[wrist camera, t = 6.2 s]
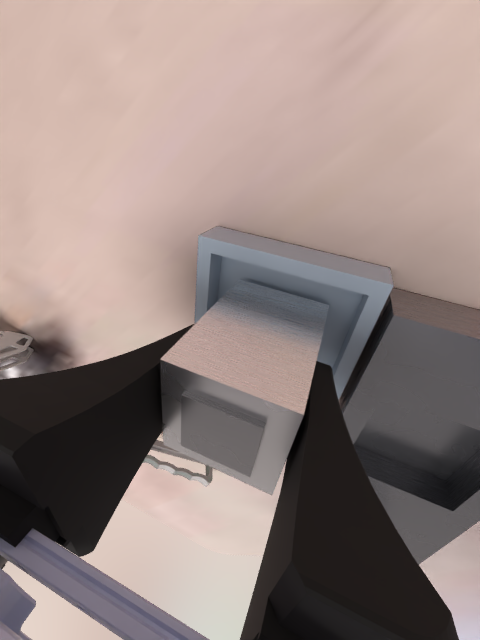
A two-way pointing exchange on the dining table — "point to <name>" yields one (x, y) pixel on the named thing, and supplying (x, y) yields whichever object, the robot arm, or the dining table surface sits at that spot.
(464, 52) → the dining table surface
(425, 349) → the slotted metal plate
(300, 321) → the light grey rectangular block
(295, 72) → the dining table surface
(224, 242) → the tray
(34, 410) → the robot arm
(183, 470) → the bracket
